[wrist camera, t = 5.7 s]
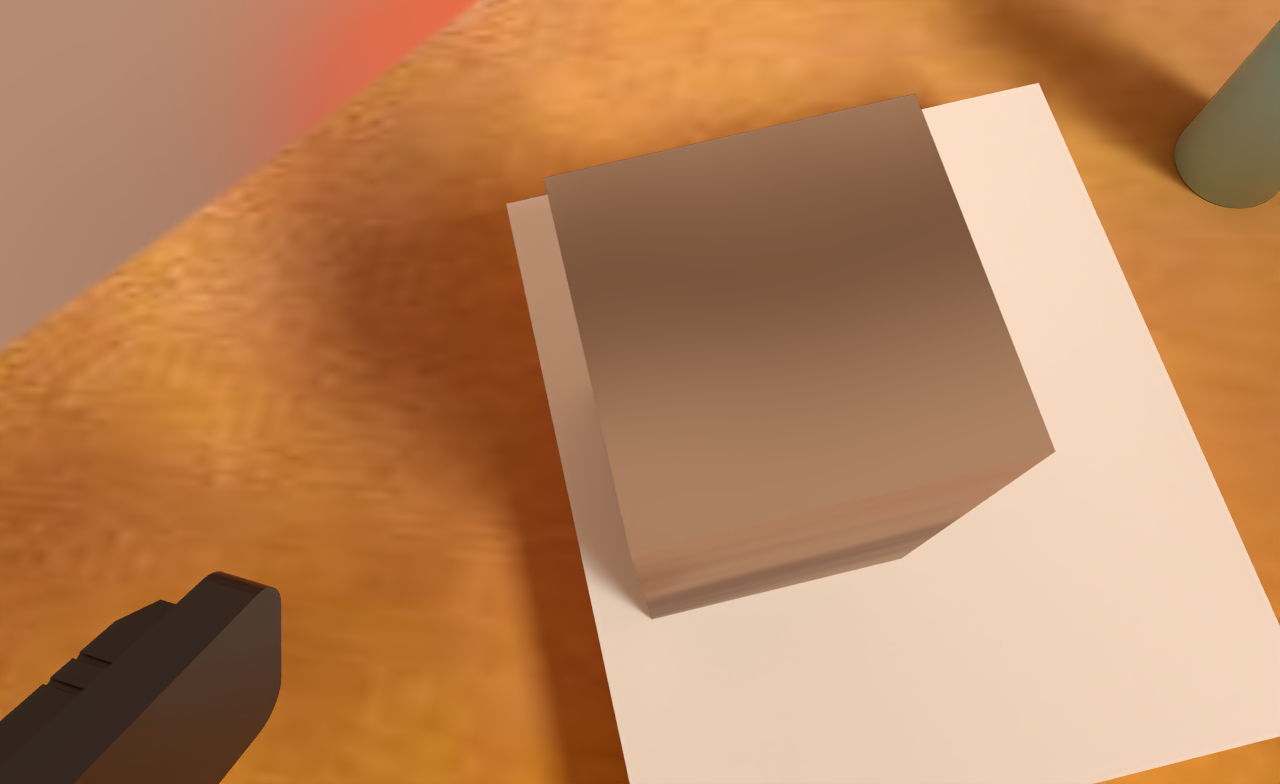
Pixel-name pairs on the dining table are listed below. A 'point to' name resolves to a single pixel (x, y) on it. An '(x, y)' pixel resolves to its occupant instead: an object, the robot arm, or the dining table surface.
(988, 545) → the board
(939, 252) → the grey brown block
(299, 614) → the dining table surface
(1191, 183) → the peg
